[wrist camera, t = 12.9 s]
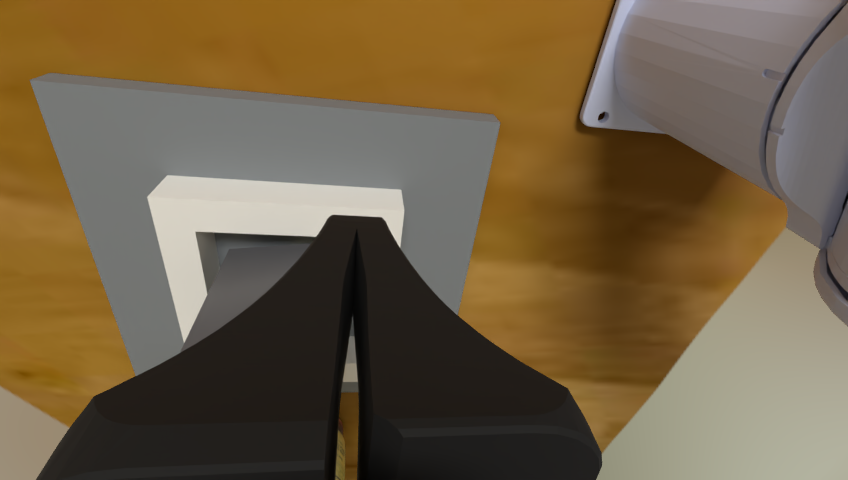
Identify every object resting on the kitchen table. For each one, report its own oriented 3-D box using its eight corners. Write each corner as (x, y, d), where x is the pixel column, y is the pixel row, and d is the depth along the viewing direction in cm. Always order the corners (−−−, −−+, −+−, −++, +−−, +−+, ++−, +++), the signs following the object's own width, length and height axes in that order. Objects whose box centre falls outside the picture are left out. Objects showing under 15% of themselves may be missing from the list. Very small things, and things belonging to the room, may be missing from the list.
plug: (330, 228, 20) (316, 339, 14) (342, 312, 23) (334, 433, 17) (236, 234, 20) (180, 351, 14) (260, 318, 23) (223, 444, 17)
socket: (493, 114, 19) (513, 138, 17) (438, 376, 29) (445, 417, 26) (49, 72, 17) (-11, 94, 14) (151, 378, 26) (127, 426, 23)
